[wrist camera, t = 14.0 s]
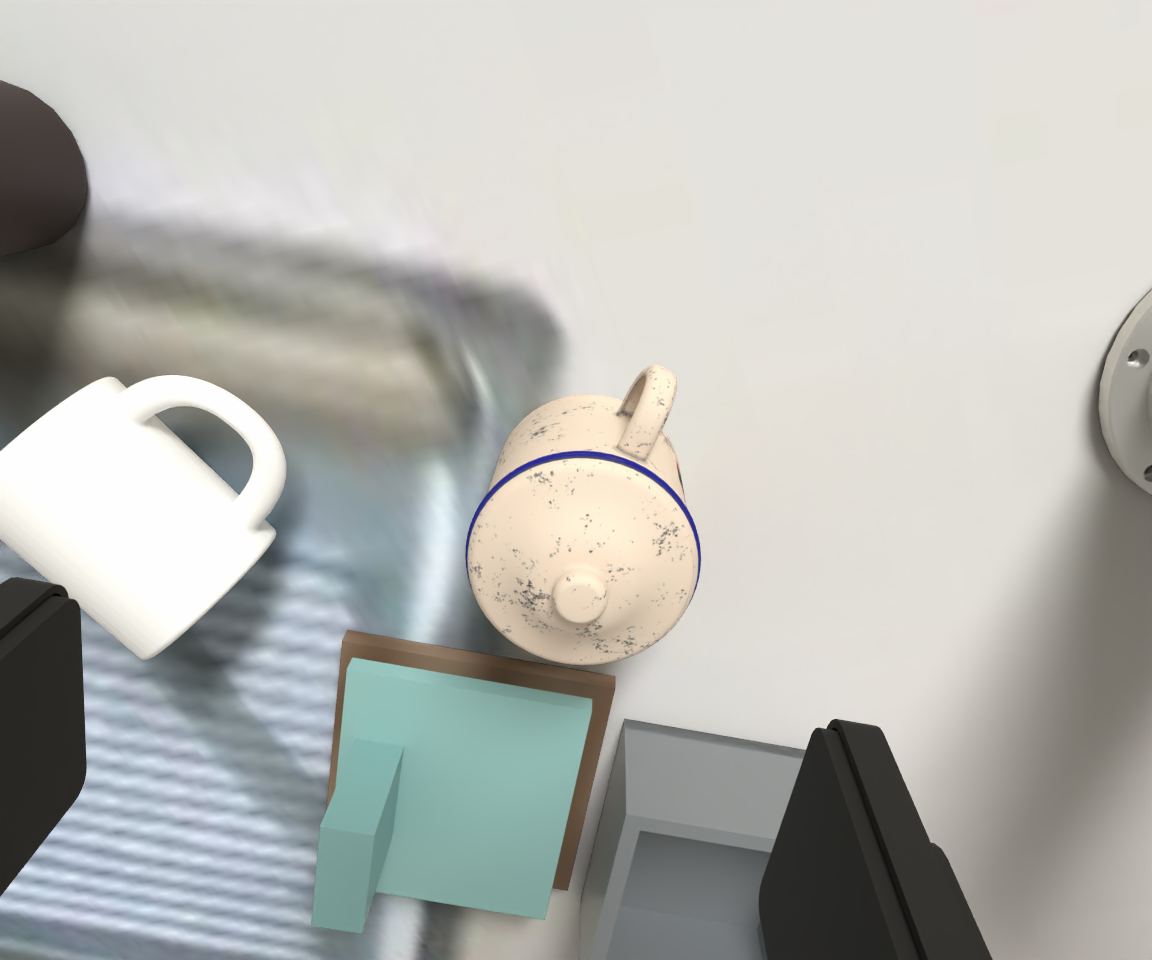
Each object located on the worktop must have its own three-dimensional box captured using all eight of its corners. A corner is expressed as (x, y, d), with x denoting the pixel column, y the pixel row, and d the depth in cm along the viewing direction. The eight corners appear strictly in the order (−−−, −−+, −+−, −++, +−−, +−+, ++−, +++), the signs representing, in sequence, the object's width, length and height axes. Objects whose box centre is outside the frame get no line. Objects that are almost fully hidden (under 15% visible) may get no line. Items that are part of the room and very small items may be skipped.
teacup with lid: (632, 592, 45) (637, 744, 34) (463, 519, 44) (414, 653, 33) (750, 382, 41) (799, 480, 30) (567, 295, 39) (549, 364, 29)
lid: (592, 684, 46) (588, 798, 38) (547, 887, 51) (536, 1023, 44) (358, 643, 45) (307, 750, 38) (337, 852, 51) (289, 983, 43)
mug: (194, 599, 46) (114, 692, 39) (37, 458, 44) (-81, 530, 36) (357, 460, 43) (304, 532, 36) (198, 298, 40) (105, 341, 33)
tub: (827, 753, 48) (860, 853, 42) (764, 929, 53) (785, 1043, 47) (624, 718, 48) (626, 814, 41) (580, 898, 53) (576, 1009, 46)
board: (615, 676, 47) (615, 688, 46) (568, 876, 52) (567, 890, 51) (347, 630, 46) (342, 640, 45) (327, 836, 52) (322, 850, 51)
